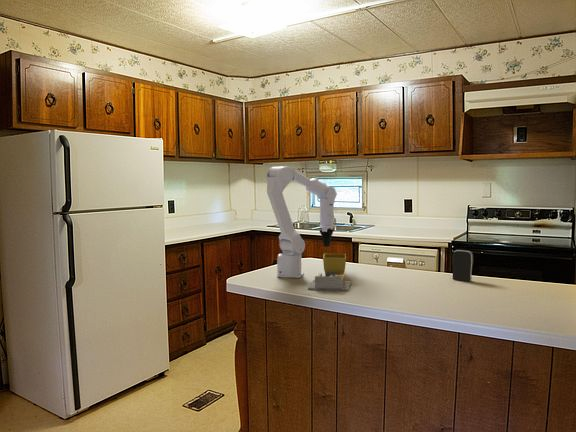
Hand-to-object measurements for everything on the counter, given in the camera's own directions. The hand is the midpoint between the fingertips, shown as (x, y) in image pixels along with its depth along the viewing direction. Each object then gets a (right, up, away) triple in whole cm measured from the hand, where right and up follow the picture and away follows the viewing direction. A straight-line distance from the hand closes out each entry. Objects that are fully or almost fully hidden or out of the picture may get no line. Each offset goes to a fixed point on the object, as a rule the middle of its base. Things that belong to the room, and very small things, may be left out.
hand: (326, 246), depth 190 cm
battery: (+50, -12, -20) cm, 55 cm away
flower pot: (+2, -12, -15) cm, 19 cm away
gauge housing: (-1, -13, -28) cm, 31 cm away
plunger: (0, -12, -27) cm, 29 cm away
